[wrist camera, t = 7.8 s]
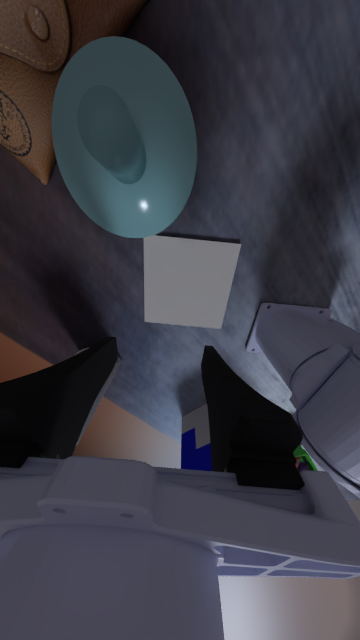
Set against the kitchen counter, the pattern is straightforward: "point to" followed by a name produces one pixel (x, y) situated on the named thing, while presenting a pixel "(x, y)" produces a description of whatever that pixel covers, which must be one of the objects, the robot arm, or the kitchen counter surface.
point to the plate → (187, 280)
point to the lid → (124, 137)
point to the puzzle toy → (196, 440)
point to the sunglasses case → (46, 66)
